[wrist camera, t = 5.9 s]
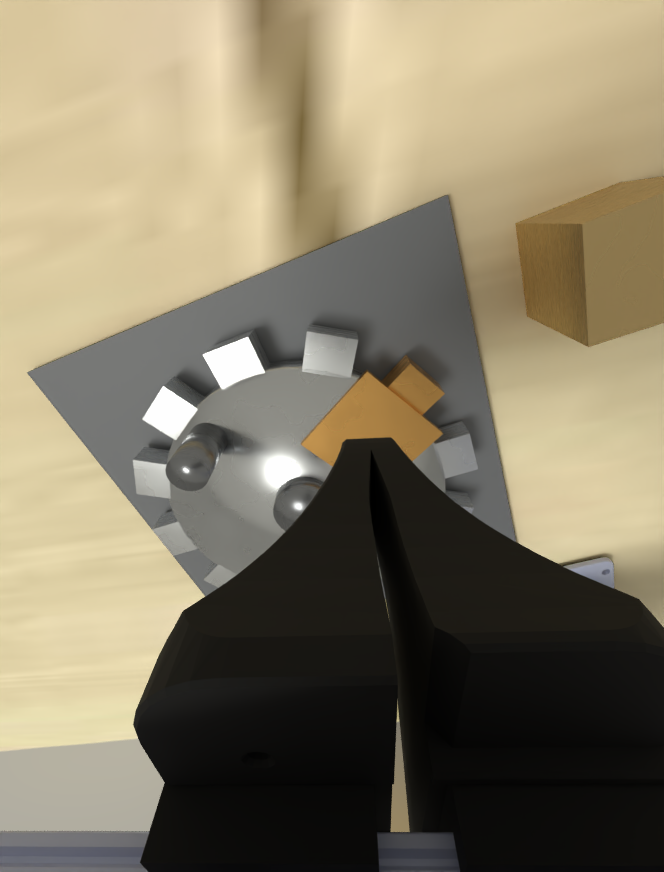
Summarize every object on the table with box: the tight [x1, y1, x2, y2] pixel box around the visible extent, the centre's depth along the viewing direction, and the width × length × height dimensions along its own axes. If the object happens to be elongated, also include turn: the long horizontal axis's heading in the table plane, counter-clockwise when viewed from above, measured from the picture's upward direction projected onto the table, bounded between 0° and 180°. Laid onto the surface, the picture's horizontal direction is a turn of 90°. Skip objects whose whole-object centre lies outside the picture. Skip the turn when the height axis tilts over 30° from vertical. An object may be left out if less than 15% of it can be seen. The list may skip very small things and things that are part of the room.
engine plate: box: [27, 195, 516, 599], centre depth 22 cm, size 22×21×1 cm
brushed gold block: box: [516, 176, 664, 347], centre depth 14 cm, size 4×4×5 cm
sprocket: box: [133, 324, 478, 588], centre depth 20 cm, size 18×18×4 cm
